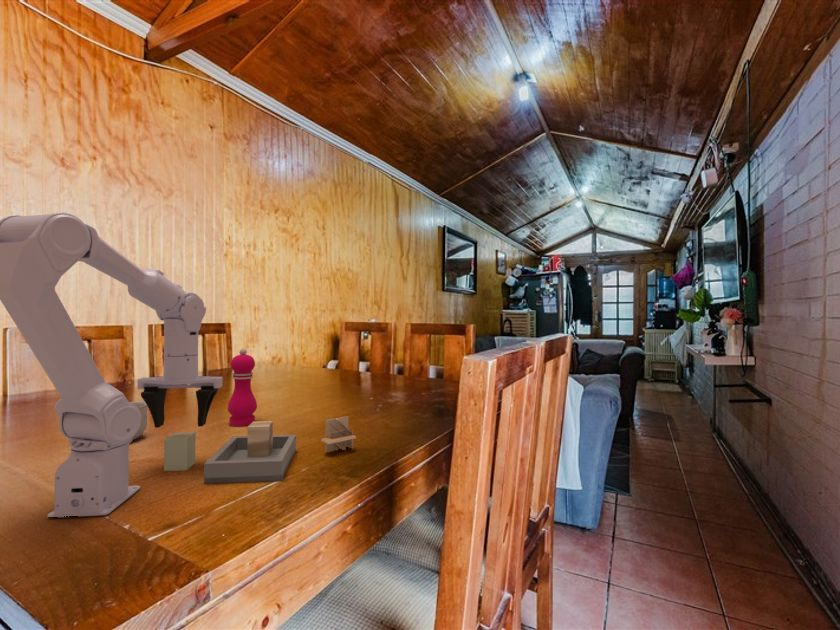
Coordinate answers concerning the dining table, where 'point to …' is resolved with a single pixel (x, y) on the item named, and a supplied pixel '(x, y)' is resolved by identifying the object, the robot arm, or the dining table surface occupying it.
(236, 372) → the pepper mill
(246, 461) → the tray
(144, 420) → the teacup
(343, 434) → the architectural model
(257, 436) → the brown metal block
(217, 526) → the dining table surface
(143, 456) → the dining table surface
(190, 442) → the sage block
